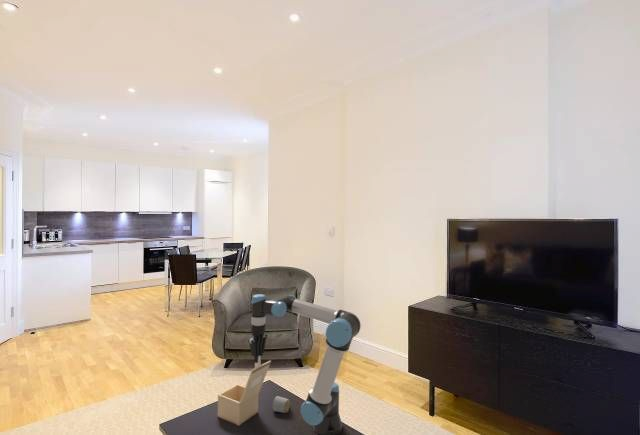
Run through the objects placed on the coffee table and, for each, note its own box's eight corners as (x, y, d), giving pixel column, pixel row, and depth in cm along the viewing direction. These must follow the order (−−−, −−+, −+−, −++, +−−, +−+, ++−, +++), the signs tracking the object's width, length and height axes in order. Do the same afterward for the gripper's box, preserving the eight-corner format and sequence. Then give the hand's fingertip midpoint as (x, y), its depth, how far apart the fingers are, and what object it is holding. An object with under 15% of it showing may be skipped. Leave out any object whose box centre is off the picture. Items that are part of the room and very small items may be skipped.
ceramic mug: (285, 416, 195) (285, 401, 195) (272, 413, 197) (272, 399, 197) (292, 406, 205) (292, 393, 205) (279, 404, 207) (279, 391, 208)
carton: (258, 412, 198) (258, 391, 198) (238, 425, 185) (239, 403, 185) (237, 404, 206) (237, 384, 206) (217, 416, 193) (218, 394, 193)
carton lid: (258, 391, 198) (259, 392, 197) (239, 402, 185) (240, 403, 185) (270, 360, 193) (271, 361, 193) (251, 369, 181) (253, 370, 181)
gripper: (261, 319, 196) (260, 362, 196) (244, 325, 185) (243, 370, 185) (271, 322, 192) (270, 365, 192) (255, 328, 181) (254, 374, 181)
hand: (257, 367), depth 189 cm, fingers closed
